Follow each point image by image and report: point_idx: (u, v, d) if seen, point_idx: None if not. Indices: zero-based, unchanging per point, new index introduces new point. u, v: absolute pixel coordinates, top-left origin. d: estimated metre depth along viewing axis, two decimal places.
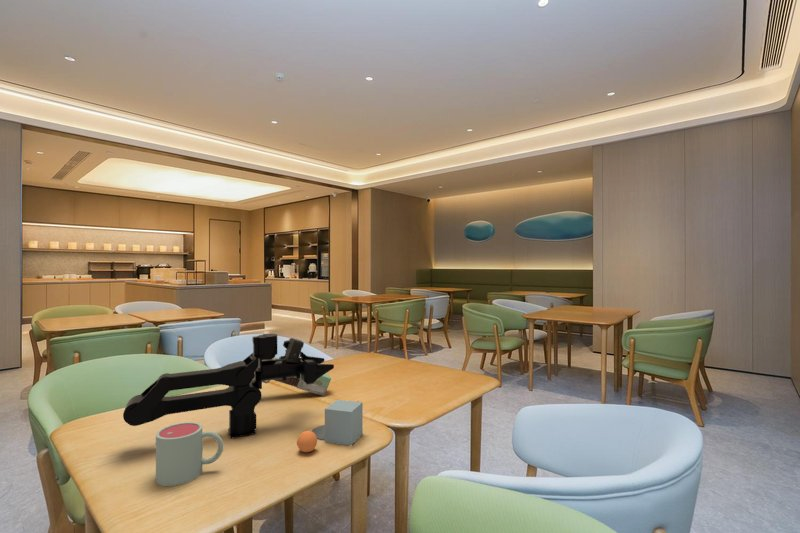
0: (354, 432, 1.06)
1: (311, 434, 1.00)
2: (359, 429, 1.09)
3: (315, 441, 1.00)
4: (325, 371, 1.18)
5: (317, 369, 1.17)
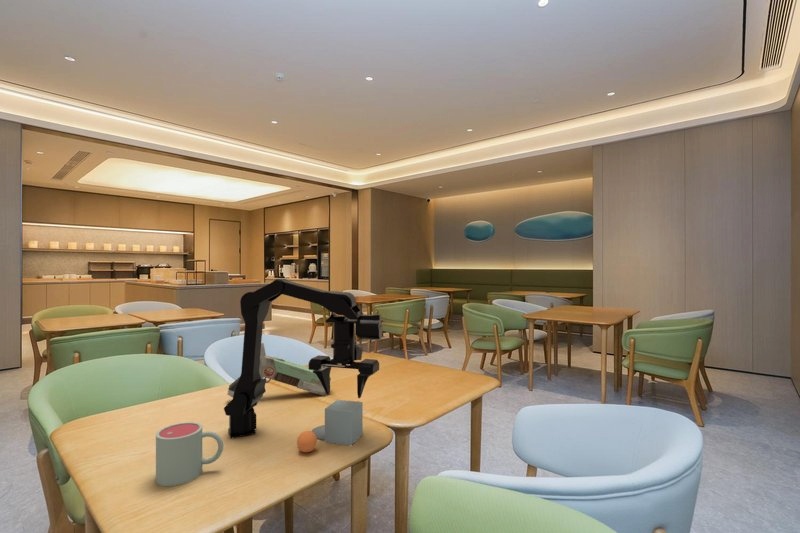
0: (354, 432, 1.06)
1: (311, 434, 1.00)
2: (359, 429, 1.09)
3: (315, 441, 1.00)
4: (361, 388, 1.06)
5: None
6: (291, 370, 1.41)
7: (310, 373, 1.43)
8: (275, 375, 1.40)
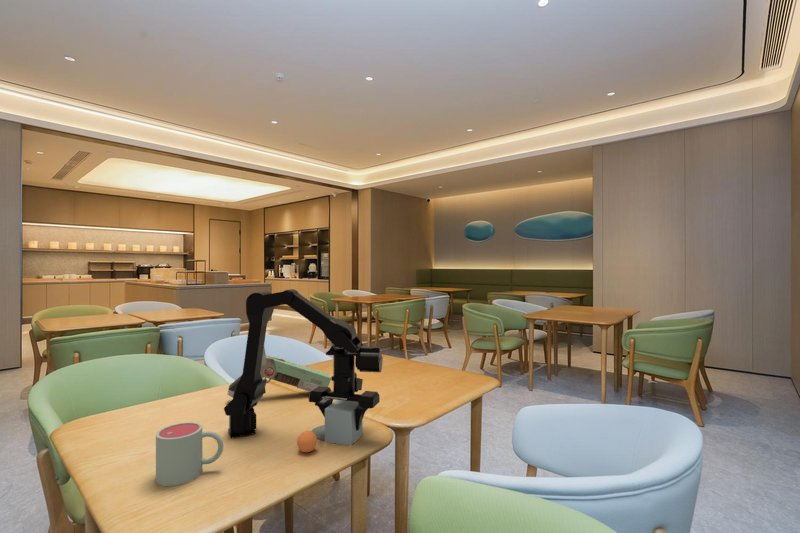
0: (354, 432, 1.06)
1: (311, 434, 1.00)
2: (359, 429, 1.09)
3: (315, 441, 1.00)
4: (360, 421, 1.07)
5: (361, 410, 1.07)
6: (291, 370, 1.41)
7: (310, 373, 1.43)
8: (275, 375, 1.40)
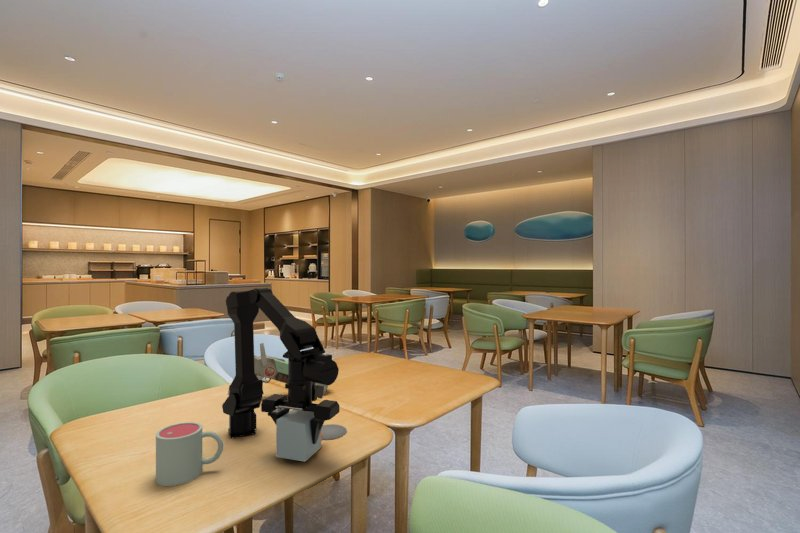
0: (309, 446, 0.95)
1: None
2: (316, 442, 0.98)
3: (321, 436, 1.03)
4: (316, 433, 0.96)
5: None
6: None
7: None
8: (276, 375, 1.40)
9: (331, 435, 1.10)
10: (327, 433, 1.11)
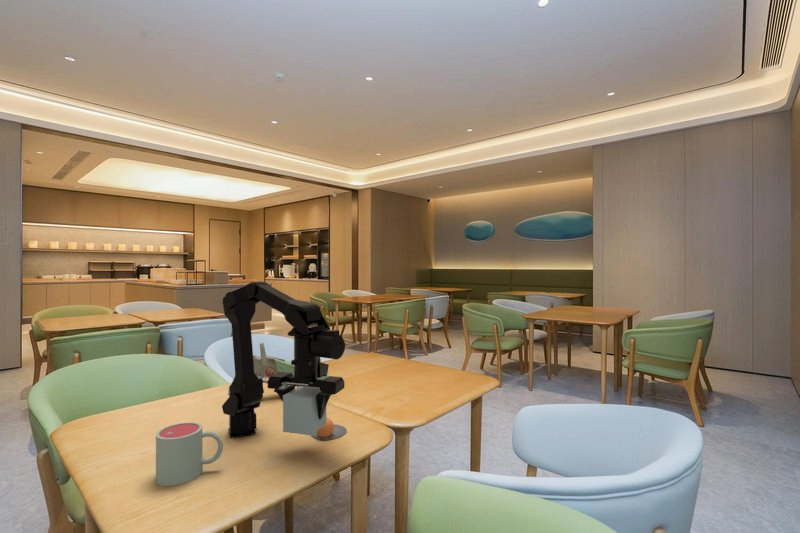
0: (315, 421, 0.97)
1: None
2: (322, 418, 1.00)
3: (332, 429, 1.09)
4: (322, 408, 0.98)
5: (324, 397, 0.99)
6: (292, 370, 1.41)
7: None
8: None
9: (331, 435, 1.10)
10: None
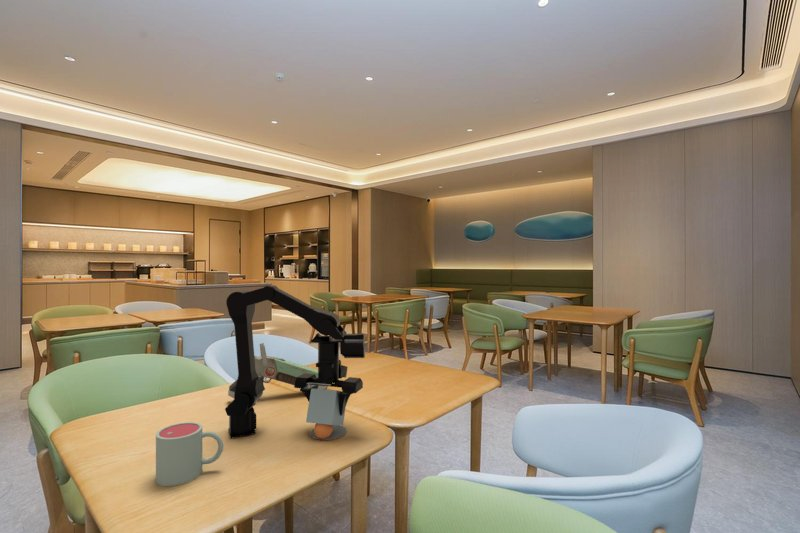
0: (336, 414, 1.09)
1: None
2: (341, 417, 1.11)
3: (331, 431, 1.08)
4: (343, 406, 1.10)
5: None
6: (292, 369, 1.41)
7: (311, 372, 1.44)
8: (276, 375, 1.40)
9: (331, 435, 1.10)
10: None
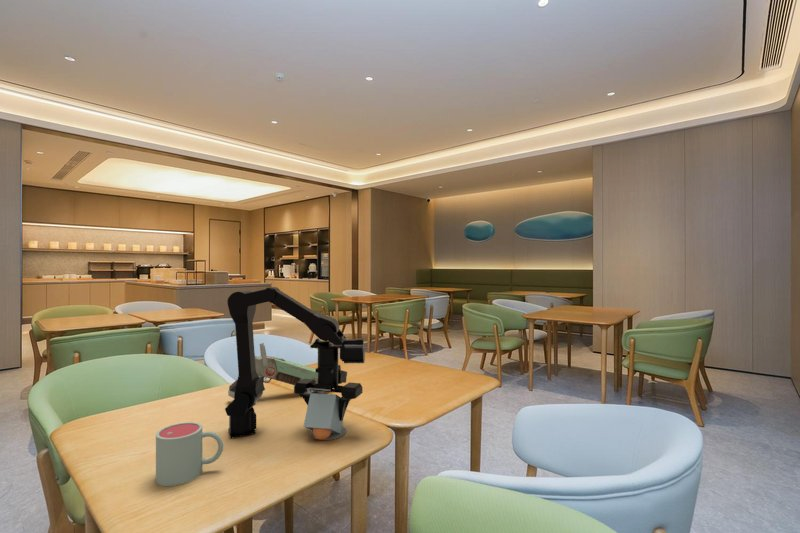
0: (334, 419, 1.08)
1: None
2: (339, 424, 1.10)
3: (330, 432, 1.08)
4: (343, 411, 1.10)
5: (345, 401, 1.11)
6: (292, 369, 1.41)
7: (311, 372, 1.44)
8: (276, 375, 1.40)
9: (331, 435, 1.10)
10: None
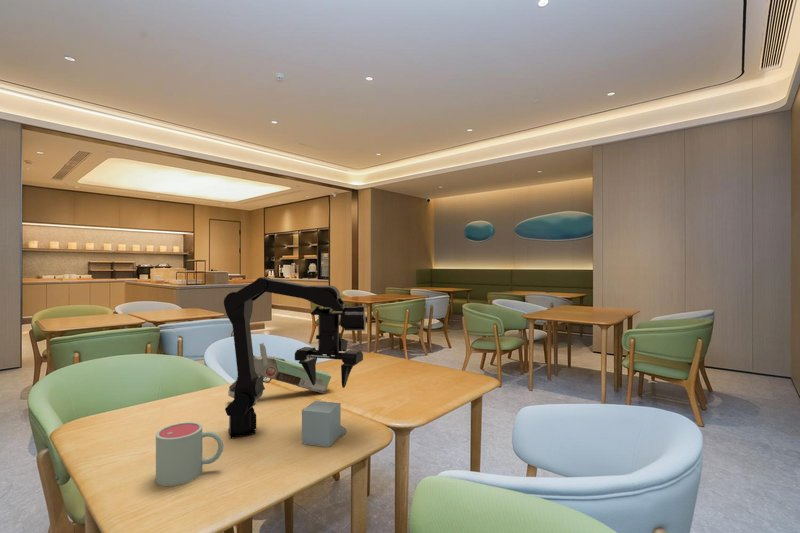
0: (332, 433, 1.05)
1: None
2: (337, 430, 1.09)
3: None
4: (345, 378, 1.10)
5: (347, 368, 1.11)
6: (292, 369, 1.42)
7: None
8: (276, 375, 1.40)
9: None
10: None
